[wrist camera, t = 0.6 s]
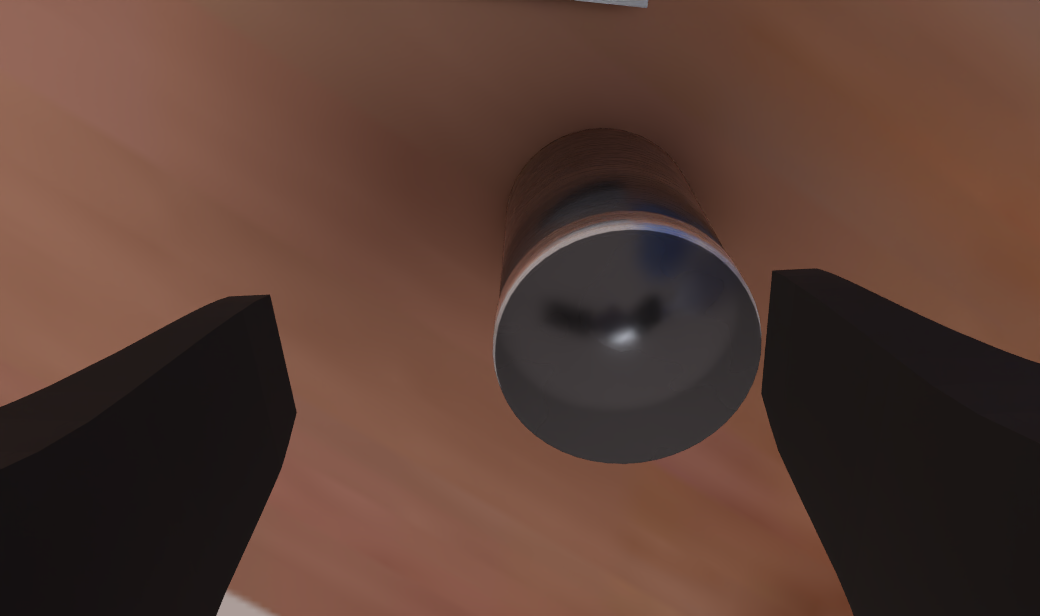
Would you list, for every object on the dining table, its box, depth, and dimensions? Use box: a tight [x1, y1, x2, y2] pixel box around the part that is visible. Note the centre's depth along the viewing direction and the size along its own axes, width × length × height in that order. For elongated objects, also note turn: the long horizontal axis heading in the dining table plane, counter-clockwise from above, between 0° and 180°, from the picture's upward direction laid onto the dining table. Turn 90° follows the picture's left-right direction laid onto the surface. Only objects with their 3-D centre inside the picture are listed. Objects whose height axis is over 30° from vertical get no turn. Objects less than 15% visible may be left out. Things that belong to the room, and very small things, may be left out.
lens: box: [493, 128, 761, 464], centre depth 18 cm, size 5×5×7 cm
